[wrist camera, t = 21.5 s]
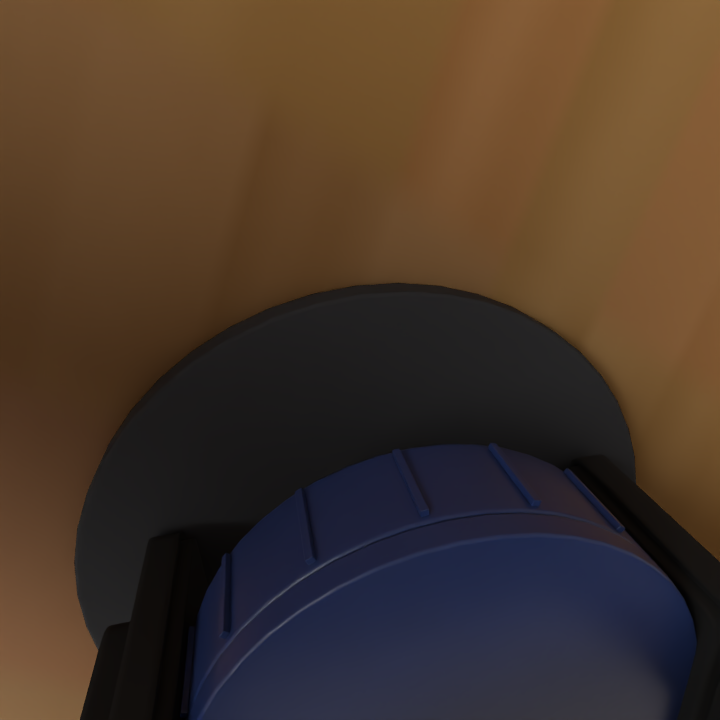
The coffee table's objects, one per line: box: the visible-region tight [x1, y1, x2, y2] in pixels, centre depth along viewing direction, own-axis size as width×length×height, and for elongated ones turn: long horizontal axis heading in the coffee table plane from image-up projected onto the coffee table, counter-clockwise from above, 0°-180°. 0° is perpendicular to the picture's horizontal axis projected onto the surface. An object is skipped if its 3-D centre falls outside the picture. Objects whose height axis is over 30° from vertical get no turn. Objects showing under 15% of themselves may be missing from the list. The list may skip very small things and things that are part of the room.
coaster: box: [74, 283, 636, 651], centre depth 11 cm, size 11×11×1 cm
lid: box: [180, 443, 697, 720], centre depth 8 cm, size 7×7×2 cm
